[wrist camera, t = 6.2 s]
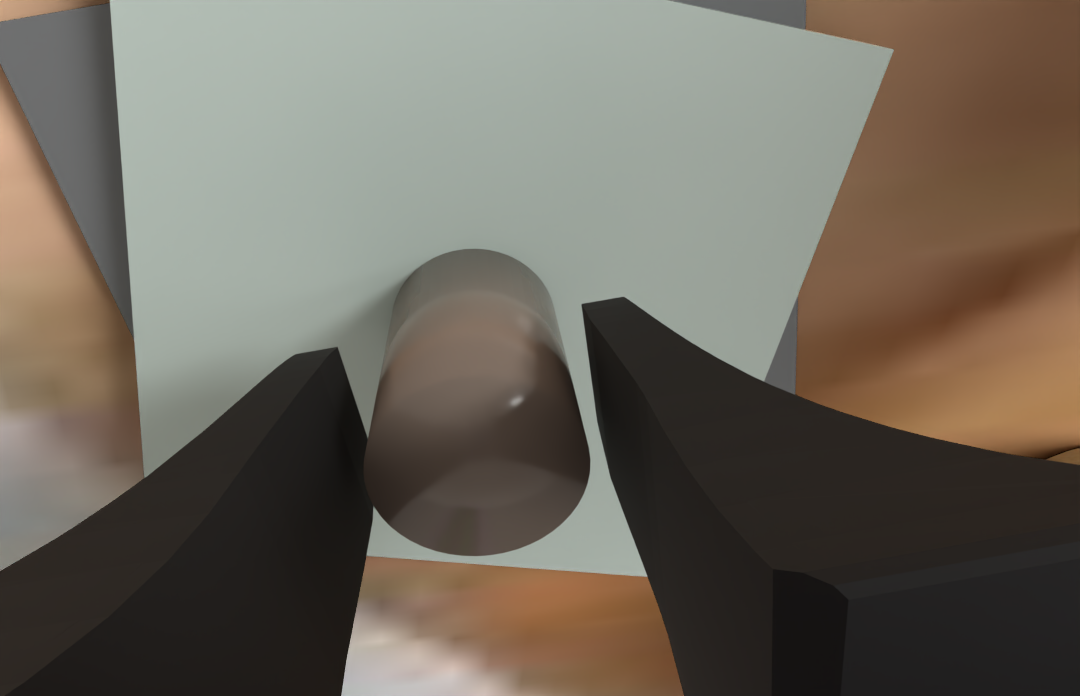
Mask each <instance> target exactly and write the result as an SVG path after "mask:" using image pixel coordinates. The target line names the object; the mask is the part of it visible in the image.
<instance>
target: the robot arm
mask: <svg viewBox="0 0 1080 696" xmlns="http://www.w3.org/2000/svg"><path fill="white" fill-rule="evenodd" d="M581 306H582V313H583V320H584V328H585V335H586V343H587V350H588V357H589V365H590V372H591V380H592V387H593V395H594V402H595V409H596V417H597V423H598V427H599V432H600V436H601V440H602V444H603V449H604V453H605V457H606V461H607V465H608V469H609V474H610V478H611V480H612V483H613V486H614V489H615V491H616V494H617V497H618V499H619V502H620V505H621V508H622V510H623V513H624V516H625V518H626V521H627V524H628V526H629V529H630V532H631V534H632V537H633V539H634V542H635V545H636V547H637V550H638V553H639V555H640V558H641V561H642V563H643V566H644V569H645V571H646V574H647V577H648V579H649V582H650V584H651V587H652V590H653V592H654V595H655V598H656V600H657V603H658V606H659V609H660V612H661V615H662V618H663V621H664V624H665V627H666V630H667V633H668V637H669V640H670V644H671V648H672V652H673V656H674V659H675V663H676V667H677V671H678V674H679V678H680V682H681V686H682V689H683V693H684V696H1080V465H1077V464H1071V463H1064V462H1057V461H1051V460H1044V459H1037V458H1031V457H1024V456H1017V455H1011V454H1005V453H1000V452H995V451H990V450H985V449H981V448H976V447H971V446H967V445H962V444H957V443H953V442H948V441H944V440H939V439H934V438H930V437H926V436H922V435H918V434H915V433H911V432H907V431H903V430H899V429H895V428H891V427H888V426H885V425H882V424H878V423H875V422H872V421H869V420H865V419H862V418H859V417H856V416H852V415H849V414H846V413H843V412H839V411H837V410H834V409H831V408H828V407H825V406H822V405H820V404H817V403H814V402H811V401H809V400H807V399H804V398H802V397H799V396H797V395H794V394H792V393H790V392H787V391H785V390H782V389H780V388H777V387H775V386H773V385H770V384H768V383H766V382H764V381H762V380H759V379H757V378H755V377H753V376H751V375H749V374H747V373H745V372H743V371H741V370H740V369H738V368H736V367H734V366H732V365H730V364H728V363H726V362H724V361H722V360H721V359H719V358H717V357H715V356H713V355H712V354H710V353H708V352H707V351H705V350H703V349H701V348H700V347H698V346H696V345H695V344H693V343H692V342H690V341H688V340H687V339H685V338H684V337H682V336H681V335H679V334H677V333H676V332H674V331H673V330H671V329H670V328H668V327H667V326H665V325H664V324H663V323H661V322H660V321H658V320H657V319H655V318H654V317H652V316H651V315H650V314H648V313H647V312H645V311H644V310H643V309H641V308H640V307H638V306H637V305H636V304H634V303H633V302H631V301H630V300H628V299H627V298H625V297H618V298H612V299H607V300H601V301H595V302H590V303H584V304H581ZM367 441H368V437H367V434H366V431H365V428H364V425H363V422H362V419H361V416H360V413H359V410H358V407H357V404H356V401H355V398H354V395H353V392H352V389H351V386H350V383H349V380H348V377H347V374H346V371H345V368H344V364H343V361H342V358H341V355H340V352H339V349H338V347H333V348H327V349H322V350H316V351H310V352H305V353H299V354H295V355H293V356H292V357H290V358H289V359H287V360H286V361H284V362H283V363H282V364H280V365H279V366H278V367H277V368H275V369H274V370H273V371H272V372H271V373H269V374H268V375H267V376H266V377H265V378H264V379H262V380H261V381H260V382H259V383H258V384H257V385H256V386H254V387H253V388H252V389H251V390H250V391H249V392H248V393H247V394H245V395H244V396H243V397H242V398H241V399H240V400H239V401H237V402H236V403H235V404H234V405H233V406H232V407H230V408H229V409H228V410H227V411H226V412H225V413H224V414H222V415H221V416H220V417H219V418H218V419H217V420H216V421H214V422H213V423H212V424H211V425H210V426H209V427H208V428H206V429H205V430H204V431H203V432H202V433H200V434H199V435H198V436H197V437H195V438H194V439H193V440H192V441H190V442H189V443H188V444H187V445H185V446H184V447H183V448H182V449H180V450H179V451H178V452H177V453H175V454H174V455H173V456H172V457H170V458H169V459H168V460H167V461H165V462H164V463H163V464H162V465H160V466H159V467H158V468H157V469H156V470H154V471H153V472H152V473H151V474H149V475H148V476H147V477H145V478H144V479H143V480H141V481H140V482H139V483H137V484H136V485H135V486H133V487H132V488H130V489H129V490H128V491H126V492H125V493H123V494H122V495H121V496H119V497H118V498H116V499H115V500H114V501H112V502H111V503H109V504H108V505H106V506H105V507H103V508H102V509H100V510H99V511H97V512H96V513H94V514H93V515H91V516H90V517H88V518H87V519H85V520H84V521H82V522H81V523H80V524H78V525H77V526H75V527H74V528H72V529H70V530H69V531H67V532H66V533H64V534H63V535H61V536H59V537H58V538H56V539H55V540H53V541H51V542H49V543H48V544H46V545H44V546H43V547H41V548H39V549H37V550H36V551H34V552H32V553H31V554H29V555H27V556H25V557H24V558H22V559H20V560H19V561H17V562H15V563H14V564H12V565H10V566H8V567H7V568H5V569H3V570H2V571H0V696H341V693H342V686H343V679H344V672H345V665H346V659H347V654H348V649H349V643H350V638H351V633H352V628H353V623H354V618H355V612H356V607H357V602H358V597H359V592H360V587H361V582H362V576H363V571H364V566H365V561H366V555H367V550H368V544H369V539H370V533H371V528H372V522H373V507H374V506H373V504H372V502H371V500H370V498H369V495H368V492H367V489H366V486H365V480H364V474H363V473H364V457H365V452H366V447H367Z"/></svg>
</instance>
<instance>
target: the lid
mask: <svg viewBox="0 0 1080 696" xmlns="http://www.w3.org/2000/svg"><path fill="white" fill-rule="evenodd" d="M110 11H111V25H112V39H113V52H114V66H115V80H116V94H117V108H118V122H119V136H120V149H121V163H122V177H123V191H124V205H125V219H126V232H127V246H128V260H129V274H130V288H131V302H132V315H133V329H134V343H135V357H136V371H137V385H138V399H139V412H140V426H141V440H142V454H143V468H144V478H145V477H147V476H148V475H149V474H151V473H152V472H153V471H154V470H156V469H157V468H158V467H159V466H160V465H162V464H163V463H164V462H165V461H167V460H168V459H169V458H170V457H172V456H173V455H174V454H175V453H177V452H178V451H179V450H180V449H182V448H183V447H184V446H185V445H187V444H188V443H189V442H190V441H192V440H193V439H194V438H195V437H197V436H198V435H199V434H200V433H202V432H203V431H204V430H205V429H206V428H208V427H209V426H210V425H211V424H212V423H213V422H214V421H216V420H217V419H218V418H219V417H220V416H221V415H222V414H224V413H225V412H226V411H227V410H228V409H229V408H230V407H232V406H233V405H234V404H235V403H236V402H237V401H239V400H240V399H241V398H242V397H243V396H244V395H245V394H247V393H248V392H249V391H250V390H251V389H252V388H253V387H254V386H256V385H257V384H258V383H259V382H260V381H261V380H262V379H264V378H265V377H266V376H267V375H268V374H269V373H271V372H272V371H273V370H274V369H275V368H277V367H278V366H279V365H280V364H282V363H283V362H284V361H286V360H287V359H289V358H290V357H292V356H293V355H295V354H299V353H305V352H310V351H316V350H322V349H327V348H333V347H338V349H339V352H340V355H341V358H342V361H343V364H344V368H345V371H346V374H347V377H348V380H349V383H350V386H351V389H352V392H353V395H354V398H355V401H356V404H357V407H358V410H359V413H360V416H361V419H362V422H363V425H364V428H365V431H366V434H367V437H368V441H367V447H366V452H365V457H364V473H363V474H364V480H365V486H366V489H367V492H368V495H369V498H370V500H371V502H372V504H373V506H374V507H373V522H372V528H371V533H370V539H369V544H368V550H367V555H366V556H375V557H388V558H402V559H415V560H428V561H442V562H455V563H469V564H482V565H495V566H509V567H522V568H536V569H549V570H562V571H576V572H589V573H603V574H616V575H629V576H643V577H647V574H646V571H645V569H644V566H643V563H642V561H641V558H640V555H639V553H638V550H637V547H636V545H635V542H634V539H633V537H632V534H631V532H630V529H629V526H628V524H627V521H626V518H625V516H624V513H623V510H622V508H621V505H620V502H619V499H618V497H617V494H616V491H615V489H614V486H613V483H612V480H611V478H610V474H609V469H608V465H607V461H606V457H605V453H604V449H603V444H602V440H601V436H600V432H599V427H598V423H597V417H596V409H595V402H594V395H593V387H592V380H591V372H590V365H589V357H588V350H587V343H586V335H585V328H584V320H583V313H582V306H581V304H584V303H590V302H595V301H601V300H607V299H612V298H618V297H625V298H627V299H628V300H630V301H631V302H633V303H634V304H636V305H637V306H638V307H640V308H641V309H643V310H644V311H645V312H647V313H648V314H650V315H651V316H652V317H654V318H655V319H657V320H658V321H660V322H661V323H663V324H664V325H665V326H667V327H668V328H670V329H671V330H673V331H674V332H676V333H677V334H679V335H681V336H682V337H684V338H685V339H687V340H688V341H690V342H692V343H693V344H695V345H696V346H698V347H700V348H701V349H703V350H705V351H707V352H708V353H710V354H712V355H713V356H715V357H717V358H719V359H721V360H722V361H724V362H726V363H728V364H730V365H732V366H734V367H736V368H738V369H740V370H741V371H743V372H745V373H747V374H749V375H751V376H753V377H755V378H757V379H759V380H762V381H764V380H765V378H766V375H767V373H768V370H769V368H770V365H771V363H772V360H773V357H774V355H775V352H776V350H777V347H778V345H779V342H780V340H781V337H782V334H783V332H784V329H785V327H786V324H787V322H788V319H789V317H790V314H791V311H792V309H793V306H794V304H795V301H796V299H797V296H798V294H799V291H800V288H801V286H802V283H803V281H804V278H805V276H806V273H807V271H808V268H809V265H810V263H811V260H812V258H813V255H814V253H815V250H816V248H817V245H818V243H819V240H820V237H821V235H822V232H823V230H824V227H825V225H826V222H827V220H828V217H829V214H830V212H831V209H832V207H833V204H834V202H835V199H836V197H837V194H838V191H839V189H840V186H841V184H842V181H843V179H844V176H845V174H846V171H847V168H848V166H849V163H850V161H851V158H852V156H853V153H854V151H855V148H856V146H857V143H858V140H859V138H860V135H861V133H862V130H863V128H864V125H865V123H866V120H867V117H868V115H869V112H870V110H871V107H872V105H873V102H874V100H875V97H876V94H877V92H878V89H879V87H880V84H881V82H882V79H883V77H884V74H885V71H886V69H887V66H888V64H889V61H890V59H891V56H892V54H893V51H894V49H890V48H886V47H882V46H878V45H875V44H871V43H866V42H862V41H857V40H853V39H848V38H843V37H839V36H834V35H829V34H825V33H820V32H816V31H811V30H806V29H802V28H797V27H793V26H788V25H783V24H779V23H774V22H770V21H765V20H760V19H756V18H751V17H746V16H742V15H737V14H733V13H728V12H723V11H719V10H714V9H710V8H705V7H700V6H696V5H691V4H687V3H682V2H677V1H673V0H110Z"/></svg>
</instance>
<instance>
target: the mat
mask: <svg viewBox="0 0 1080 696" xmlns="http://www.w3.org/2000/svg"><path fill="white" fill-rule="evenodd" d="M673 1H677V2H682V3H687V4H691V5H696V6H700V7H705V8H710V9H714V10H719V11H723V12H728V13H733V14H737V15H742V16H746V17H751V18H756V19H760V20H765V21H770V22H774V23H779V24H783V25H788V26H793V27H797V28H802V29H805V27H806V0H673ZM0 64H1V66H2V69H3V71H4V73H5V75H6V77H7V79H8V81H9V83H10V85H11V87H12V89H13V91H14V93H15V95H16V97H17V99H18V102H19V104H20V106H21V108H22V110H23V112H24V114H25V116H26V118H27V120H28V122H29V124H30V126H31V128H32V130H33V132H34V135H35V137H36V139H37V141H38V143H39V145H40V147H41V149H42V151H43V153H44V155H45V157H46V159H47V161H48V163H49V165H50V168H51V170H52V172H53V174H54V176H55V178H56V180H57V182H58V184H59V186H60V188H61V190H62V192H63V194H64V196H65V199H66V201H67V203H68V205H69V207H70V209H71V211H72V213H73V215H74V217H75V219H76V221H77V223H78V225H79V227H80V229H81V232H82V234H83V236H84V238H85V240H86V242H87V244H88V246H89V248H90V250H91V252H92V254H93V256H94V258H95V260H96V262H97V265H98V267H99V269H100V271H101V273H102V275H103V277H104V279H105V281H106V283H107V285H108V287H109V289H110V291H111V293H112V296H113V298H114V300H115V302H116V304H117V306H118V308H119V310H120V312H121V314H122V316H123V318H124V320H125V322H126V324H127V326H128V329H129V331H130V333H131V335H132V337H133V339H134V329H133V315H132V302H131V288H130V274H129V260H128V246H127V232H126V219H125V205H124V191H123V177H122V163H121V149H120V136H119V122H118V108H117V94H116V80H115V66H114V52H113V39H112V25H111V11H110V3H107V4H101V5H95V6H90V7H84V8H78V9H72V10H66V11H61V12H55V13H49V14H43V15H37V16H31V17H26V18H20V19H14V20H8V21H2V22H0ZM797 313H798V296H797V299H796V301H795V304H794V306H793V309H792V311H791V314H790V317H789V319H788V322H787V324H786V327H785V329H784V332H783V334H782V337H781V340H780V342H779V345H778V347H777V350H776V352H775V355H774V357H773V360H772V363H771V365H770V368H769V370H768V373H767V375H766V378H765V380H764V382H766V383H768V384H770V385H773V386H775V387H777V388H780V389H782V390H785V391H787V392H790V393H792V394H794V395H795V384H796V348H797Z"/></svg>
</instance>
